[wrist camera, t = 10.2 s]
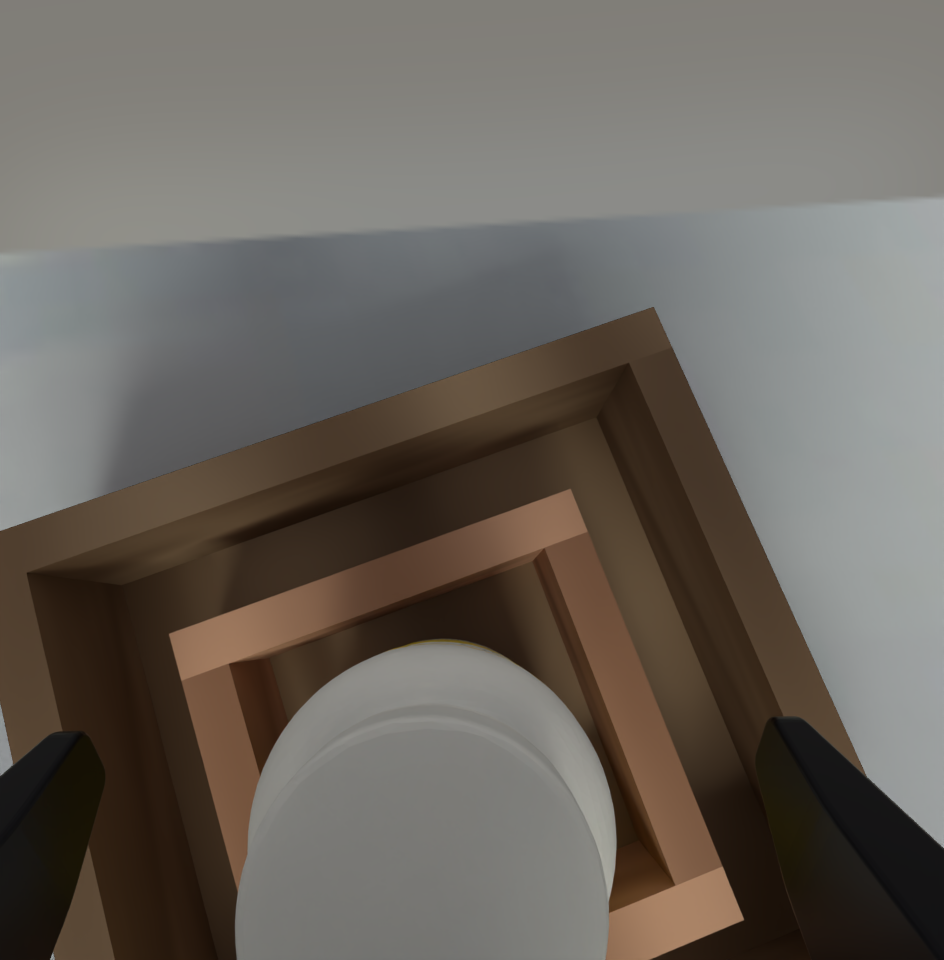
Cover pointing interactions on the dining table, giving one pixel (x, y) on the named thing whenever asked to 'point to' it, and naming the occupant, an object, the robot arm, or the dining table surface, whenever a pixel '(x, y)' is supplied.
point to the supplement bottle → (429, 819)
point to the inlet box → (425, 634)
